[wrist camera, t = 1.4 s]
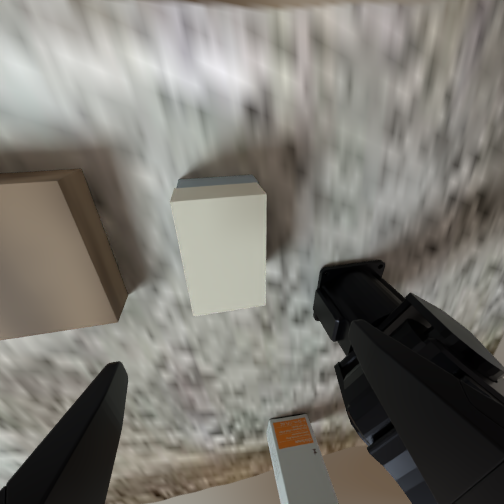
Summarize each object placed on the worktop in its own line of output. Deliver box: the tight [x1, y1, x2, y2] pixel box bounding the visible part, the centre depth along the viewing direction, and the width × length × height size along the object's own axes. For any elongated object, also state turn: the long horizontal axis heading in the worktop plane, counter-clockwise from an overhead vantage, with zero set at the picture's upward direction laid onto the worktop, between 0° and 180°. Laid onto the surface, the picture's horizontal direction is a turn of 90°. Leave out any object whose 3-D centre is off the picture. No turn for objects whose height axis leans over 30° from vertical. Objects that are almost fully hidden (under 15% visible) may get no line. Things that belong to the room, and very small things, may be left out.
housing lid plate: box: [170, 182, 267, 317], centre depth 16 cm, size 5×8×2 cm, turn 1°
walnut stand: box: [0, 169, 128, 340], centre depth 15 cm, size 10×10×3 cm
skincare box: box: [267, 414, 339, 504], centre depth 31 cm, size 6×4×12 cm
